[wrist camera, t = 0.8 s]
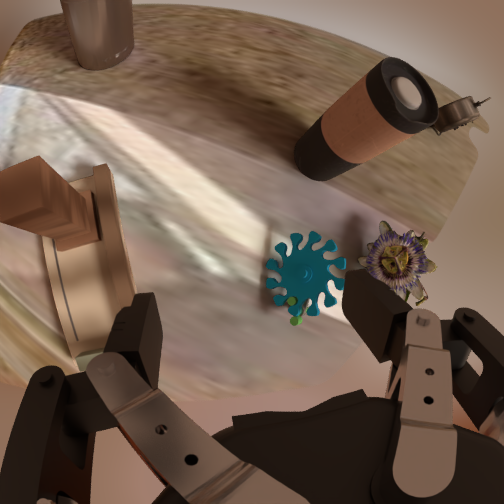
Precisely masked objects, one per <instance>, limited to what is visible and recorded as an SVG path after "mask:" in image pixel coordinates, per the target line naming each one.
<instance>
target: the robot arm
mask: <svg viewBox="0 0 504 504" xmlns="http://www.w3.org/2000/svg"><path fill="white" fill-rule="evenodd" d="M60 2H61V6H62V9H63V13H64V17H65V21H66V24H67V27H68V31H69V34H70V37H71V41H72V44H73V47H74V50H75V53H76V56H77V59H78V62H79V64H80V65H81V66H82V67H83V68H86V69H88V70H102V69H106V68H109V67H112V66H114V65H116V64H118V63H120V62H121V61H123V60H124V59H125V58H126V57H128V55H129V54H130V53H131V51H132V49H133V47H134V35H133V14H132V0H60ZM342 310H343V313H344V315H345V317H346V318H347V320H348V321H349V322H350V324H351V325H352V326H353V328H354V329H355V330H356V332H357V333H358V334H359V336H360V337H361V338H362V340H363V341H364V342H365V343H366V345H367V346H368V348H369V349H370V350H371V352H372V353H373V354H374V356H375V357H376V359H377V360H378V362H379V363H383V362H386V361H389V360H391V361H392V365H391V367H390V372H389V378H388V383H387V388H386V393H385V398H379V397H367V396H366V394H365V393H364V391H363V389H360V390H357V391H354V392H351V393H347V394H343V395H339V396H336V397H333V398H331V399H329V400H327V401H325V402H323V403H321V404H319V405H317V406H315V407H313V408H310V409H308V410H306V411H303V412H273V411H265V412H259V413H253V414H246V415H238V416H232V420H233V426H231V427H228V428H226V429H223V430H221V431H219V432H218V433H216V434H214V435H212V436H210V435H209V434H208V433H206V432H205V431H204V430H203V429H202V428H201V427H199V426H198V425H197V424H196V423H195V422H194V421H193V420H191V419H190V418H189V417H188V416H187V415H186V414H185V413H184V412H183V411H182V410H181V409H179V408H178V406H177V405H176V404H174V402H173V401H172V400H170V399H169V398H168V397H167V396H166V395H165V394H164V393H163V392H162V391H161V390H160V389H158V378H159V368H160V358H161V349H162V340H163V332H162V325H161V321H160V316H159V312H158V308H157V303H156V299H155V295H154V293H153V292H149V293H137V294H135V295H134V298H133V301H132V304H131V306H127V307H123V308H122V309H121V310H120V311H119V312H118V313H117V314H116V317H115V320H114V322H113V323H114V324H113V325H112V328H111V331H110V333H109V336H108V339H107V342H106V345H105V348H104V351H103V353H102V354H99V355H97V356H96V357H94V358H93V359H92V360H91V361H90V362H89V363H88V365H87V368H86V371H84V372H80V373H76V374H72V375H68V376H65V374H64V372H63V370H62V369H61V368H59V367H57V366H45V367H43V368H40V369H39V370H37V371H36V372H35V373H34V374H33V375H32V377H31V379H30V381H29V384H28V386H27V389H26V391H25V394H24V397H23V399H22V402H21V404H20V407H19V410H18V413H17V416H16V419H15V422H14V425H13V428H12V431H11V434H10V438H9V441H8V445H7V448H6V452H5V456H4V459H3V464H2V468H1V472H0V504H90V494H91V476H92V463H93V453H94V444H95V436H96V432H97V431H102V430H106V429H110V428H114V427H118V429H119V430H120V432H121V433H122V434H123V436H124V437H125V438H126V440H127V441H128V442H129V443H130V445H131V446H132V448H133V449H134V450H135V451H136V453H137V454H138V455H139V456H140V458H141V459H142V460H143V461H144V463H145V464H146V465H147V466H148V468H149V469H150V470H151V471H152V472H153V474H154V475H155V476H156V477H157V478H158V479H159V481H160V482H161V483H162V484H163V485H164V486H165V487H166V488H165V489H164V490H163V491H162V492H161V493H160V495H159V496H158V497H157V498H156V499H155V500H154V501H153V503H152V504H504V336H503V335H502V334H501V333H500V332H499V331H498V330H497V329H495V327H493V326H492V325H491V324H490V323H489V322H488V321H487V320H486V319H485V318H484V317H482V316H481V315H480V314H479V313H478V312H476V311H475V310H472V309H469V308H459V309H457V310H456V311H455V313H454V316H453V319H452V320H440V319H439V317H438V316H437V315H436V314H435V313H433V312H431V311H429V310H426V309H413V308H412V307H411V306H410V305H409V304H408V303H407V302H405V301H404V300H403V299H402V298H401V297H400V296H399V295H397V293H396V292H395V291H394V290H392V289H391V288H390V287H389V286H388V285H387V284H386V283H384V282H382V281H380V280H378V279H376V278H374V277H373V276H372V275H371V274H369V273H368V272H367V271H366V270H365V269H359V270H351V271H348V272H347V273H346V275H345V282H344V290H343V298H342ZM471 350H473V352H474V353H475V354H476V355H477V356H478V357H479V358H480V360H481V361H482V363H483V372H482V374H481V376H479V375H478V374H477V373H476V371H475V370H474V369H473V368H472V367H471V366H470V364H469V363H468V362H467V359H468V356H469V354H470V352H471ZM452 394H453V395H454V397H455V398H456V399H457V401H458V402H459V404H460V405H461V406H462V408H463V409H464V411H465V412H466V413H467V415H468V416H469V418H470V419H471V420H472V422H473V424H474V425H475V426H476V428H477V429H478V431H479V433H477V432H474V431H471V430H469V429H466V428H463V427H460V426H458V425H455V424H453V423H452V418H453V416H452V413H453V400H452V399H453V397H452Z"/></svg>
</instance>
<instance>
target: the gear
mask: <svg viewBox="0 0 504 504" xmlns="http://www.w3.org/2000/svg"><path fill="white" fill-rule="evenodd" d="M290 238H291V241H292V245H293V248H292V252H291V255H290V256H288V257H287V255H286V251H287V245H286V244H285V243H283V242H281V243H279V244H277V245H276V246H275V250H276V252H278V253H279V254H280V255H281V257H282V260H283V267H282V268H279V266H278V262H277V261H276V260H274V259H269V261H268V262H267V264H266V268H267V269H270V270H275V271H277V272H278V273H279V274H280V275H281V277H282V280H281V282H280V283H278V282H277V280H276V279H274V278H267V281H266V288H268V289H274V288H276V287H284V288H286V290H287V294H286V295H285V296H283V295H275V296H274V297H273V299H274V302H275V304H276V305H277V306H282V305H284V303H285V302H286V301H287V302H288V304H289V305H290V307H289V308H288V312H289V313H290V314H291V315H293V316H295V317H292V318H291V319H290V323H291V324H292V325H294V326H295V325H299V324H301V323H302V318H301V317H302V316H303V315H304V314H305V312H307V315H309V316H318V315H319V313H320V311H319V308H318V304H317V302H318V297H319V294H320V293H321V292H324V293H325V300H324V305H325V306H326V307H331V306H333V305H335V304H336V303H337V300H336V298H335V297H333V296H332V295H331V294H330V292H329V289H328V285H327V283H328V281H329V280H331V279H332V280H333V281H334V284H335V287H336V289H338V290H343V289H344V282H345V279H342V278H337V277H335V276H333V275H332V274H331V273H330V271H329V267H330V265H332V264H334V265H335V266H336V267H337V268H339V269H341V270H343V269H345V268H346V259H345V258H343V257H339V258H337V259H335V260H326V259H324V258H323V254H324V252H325V251H330V252H335V251H336V250H337V246H336V244H335V242H334V241H333V240H332V239H331V240H328V241H327V242H326V244H325V245H324V246H323V247H322V248H320V249H318V250H315V251H313V250H312V245H313V244H314V243H317V242H319V241H320V240H321V238H322V237H321V236H320V235H319V234H318V233H316V232H314V231H311V232H310V233H309V239H308V242H307V244H306V245H305V247H304V248H303V249H302V250H299V249H298V245H299V244H300V243H301V242H302V240H303V235H301V234H299V233H293V234H291V236H290ZM309 299H311V300H312V305H311V306H310V307H309V308H308V307H307V306H308V303H309Z"/></svg>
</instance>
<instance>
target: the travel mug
mask: <svg viewBox="0 0 504 504" xmlns="http://www.w3.org/2000/svg"><path fill="white" fill-rule="evenodd" d="M438 115H439V110H438V104H437V101H436V98H435V95H434V93H433V91H432V89H431V88H430V86H429V84H428V83H427V82H426V80H425V79H424V78H423V76H422V75H421V74H420V73H419V72H418V71H417V70H416V69H415V68H413V67H412V66H411V65H409V64H408V63H406V62H405V61H403V60H401V59H398V58H394V57H388V58H385V59H384V60H382V61H381V62H380V63H378V64H377V65H376V66H375V67H374V68H373V69H372V70H370V71H369V72H368V73H367V74H366V75H365V76H364V77H363V78H361V79H360V80H359V81H358V82H357V83H356V84H355V85H354V86H353V87H351V88H350V89H349V90H348V91H347V92H346V93H345V94H344V95H343V96H342V97H340V98H339V99H338V100H337V101H336V102H335V103H334V104H333V105H332V106H331V107H330V108H329V109H327V111H326V112H325V113H324V114H323V115H322V116H321V117H320V118H319V119H318V120H317V121H316V122H315V123H314V124H313V125H312V126H311V128H310V129H309V130H308V131H307V132H306V133H305V134H304V135H303V136H302V137H301V139H300V140H299V141H298V142H297V144H296V146H295V150H294V157H295V161H296V164H297V166H298V167H299V169H300V170H301V171H302V173H303V174H305V175H306V176H307V177H309V178H310V179H313V180H316V181H326V180H329V179H331V178H334V177H336V176H338V175H340V174H342V173H344V172H346V171H348V170H350V169H352V168H354V167H356V166H358V165H360V164H362V163H364V162H366V161H368V160H370V159H372V158H373V157H375V156H377V155H379V154H381V153H382V152H384V151H386V150H388V149H389V148H391V147H393V146H395V145H397V144H398V143H400V142H402V141H404V140H406V139H408V138H409V137H411V136H413V135H415V134H417V133H419V132H420V131H422V130H424V129H426V128H428V127H430V126H431V125H433V124H434V123H435V122H436V121H437V119H438Z"/></svg>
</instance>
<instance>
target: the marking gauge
mask: <svg viewBox="0 0 504 504" xmlns="http://www.w3.org/2000/svg"><path fill="white" fill-rule="evenodd" d="M0 222H1V223H4V224H7V225H10V226H14V227H17V228H20V229H23V230H26V231H29V232H32V233H36V234H39V235H42V236H45V237H48V238H52V239H55V242H56V248H57V251H60V252H63V251H67V250H70V249H74V248H77V247H80V246H84V245H87V244H91V243H95V242H98V241H102V240H101V235H100V230H99V224H98V218H97V212H96V206H95V199H94V193H93V192H92V191H91V190H87V191H84V192H80V193H78V192H77V191H76V190H75V189H74V188H73V187H72V186H71V185H70V184H69V183H68V182H66V181H65V180H64V179H63V178H62V177H61V176H60V175H59V174H58V173H57V172H56V171H55V170H54V169H53V168H52V167H50V166H49V165H48V164H47V163H46V162H45V161H44V160H43V159H42V158H41V157H40V156H36V157H34V158H31V159H28V160H26V161H24V162H21V163H19V164H16V165H14V166H12V167H9V168H7V169H5V170H3V171H0Z"/></svg>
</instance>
